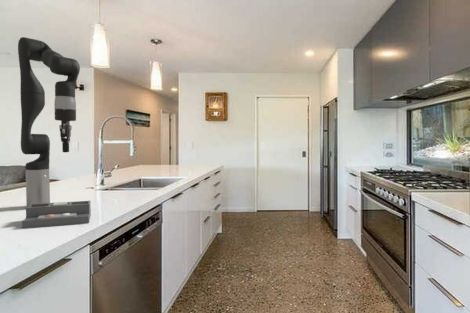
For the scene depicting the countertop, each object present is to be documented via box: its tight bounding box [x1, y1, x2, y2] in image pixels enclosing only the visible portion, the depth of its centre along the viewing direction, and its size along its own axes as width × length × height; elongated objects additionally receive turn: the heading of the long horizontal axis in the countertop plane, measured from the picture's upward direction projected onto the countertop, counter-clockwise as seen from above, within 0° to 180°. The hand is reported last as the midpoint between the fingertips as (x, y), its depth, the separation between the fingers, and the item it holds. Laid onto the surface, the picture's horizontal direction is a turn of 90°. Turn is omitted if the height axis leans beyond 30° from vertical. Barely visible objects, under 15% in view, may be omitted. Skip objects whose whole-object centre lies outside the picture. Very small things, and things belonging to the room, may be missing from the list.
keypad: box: [22, 200, 92, 229], centre depth 120 cm, size 14×21×6 cm
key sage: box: [52, 201, 69, 206], centre depth 122 cm, size 5×5×2 cm
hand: (65, 152), depth 128 cm, fingers closed
